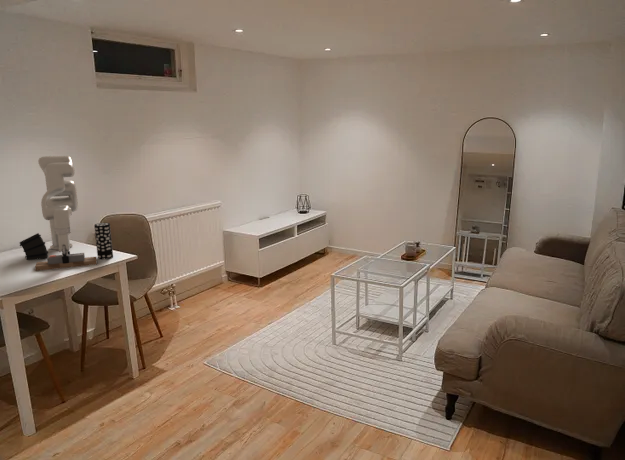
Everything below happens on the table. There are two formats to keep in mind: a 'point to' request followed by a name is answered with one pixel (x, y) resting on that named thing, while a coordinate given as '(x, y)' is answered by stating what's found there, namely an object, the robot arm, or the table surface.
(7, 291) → the table surface
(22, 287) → the table surface
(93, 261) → the rail
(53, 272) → the table surface
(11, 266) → the table surface
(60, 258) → the grey control box
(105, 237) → the spotted tube
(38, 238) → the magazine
